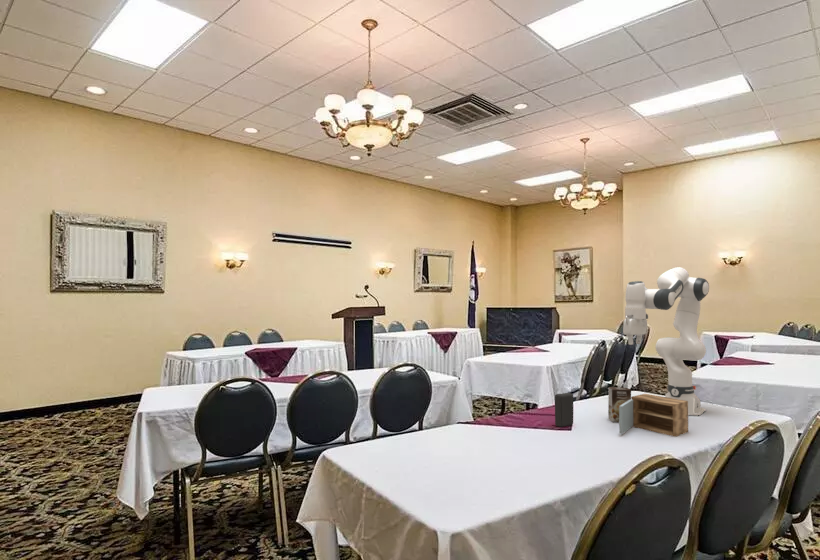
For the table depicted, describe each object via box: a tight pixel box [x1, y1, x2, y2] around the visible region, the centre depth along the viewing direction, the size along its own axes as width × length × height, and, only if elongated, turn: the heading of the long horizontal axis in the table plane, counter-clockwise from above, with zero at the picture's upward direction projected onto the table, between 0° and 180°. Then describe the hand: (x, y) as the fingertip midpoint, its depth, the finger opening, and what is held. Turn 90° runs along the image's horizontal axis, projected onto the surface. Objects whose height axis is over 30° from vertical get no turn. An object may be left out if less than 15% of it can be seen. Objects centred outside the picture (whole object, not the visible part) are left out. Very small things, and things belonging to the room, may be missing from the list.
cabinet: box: [631, 393, 689, 438], centre depth 227 cm, size 12×20×14 cm, turn 36°
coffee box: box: [607, 386, 632, 423], centre depth 241 cm, size 9×6×16 cm
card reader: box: [554, 392, 574, 428], centre depth 233 cm, size 9×4×15 cm, turn 119°
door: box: [618, 399, 633, 435], centre depth 223 cm, size 1×19×12 cm, turn 141°
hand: (634, 344), depth 233 cm, fingers open, 8 cm apart
